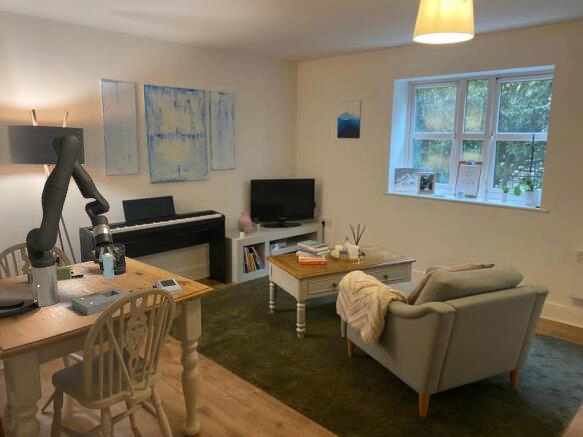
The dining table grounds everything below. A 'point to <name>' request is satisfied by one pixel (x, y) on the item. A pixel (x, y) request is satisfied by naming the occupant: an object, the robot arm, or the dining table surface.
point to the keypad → (169, 285)
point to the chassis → (97, 300)
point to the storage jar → (120, 259)
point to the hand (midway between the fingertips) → (108, 269)
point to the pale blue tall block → (108, 266)
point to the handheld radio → (62, 274)
